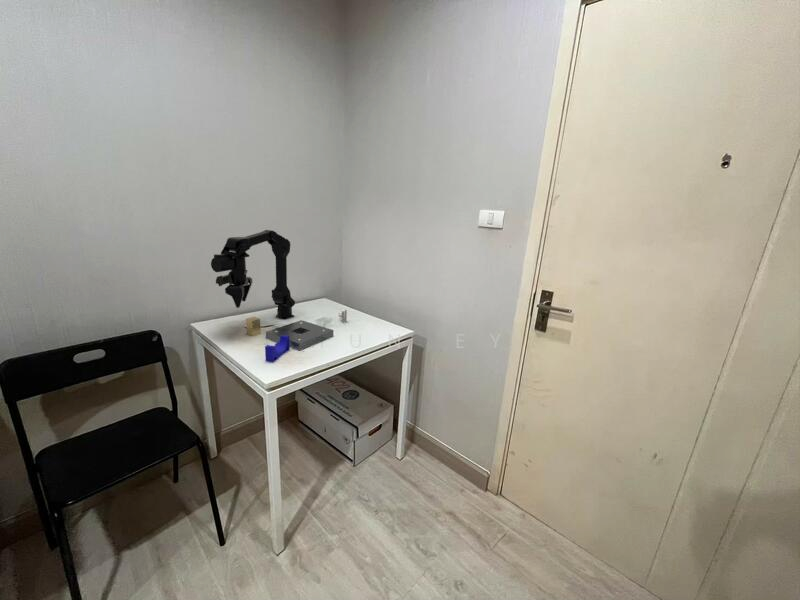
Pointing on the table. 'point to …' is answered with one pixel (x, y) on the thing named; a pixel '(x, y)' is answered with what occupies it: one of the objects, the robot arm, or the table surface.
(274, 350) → the blue u-shaped bracket
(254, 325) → the tan wooden block
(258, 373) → the table surface
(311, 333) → the grey square mounting plate
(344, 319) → the architectural model
